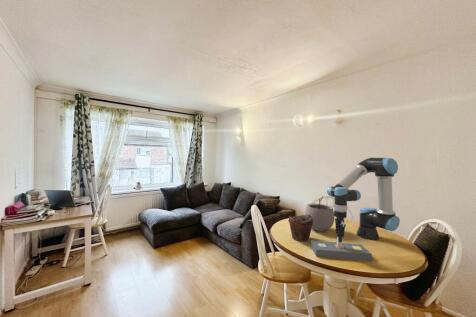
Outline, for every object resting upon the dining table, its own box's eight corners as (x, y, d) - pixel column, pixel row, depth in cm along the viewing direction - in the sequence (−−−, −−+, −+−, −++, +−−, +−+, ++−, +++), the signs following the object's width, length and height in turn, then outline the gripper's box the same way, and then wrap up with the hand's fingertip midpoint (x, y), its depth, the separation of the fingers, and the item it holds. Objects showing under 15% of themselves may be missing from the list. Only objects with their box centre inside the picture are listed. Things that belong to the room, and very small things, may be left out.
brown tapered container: (283, 238, 158) (283, 215, 157) (296, 231, 172) (296, 210, 171) (304, 245, 145) (305, 220, 145) (316, 238, 159) (317, 215, 159)
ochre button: (359, 251, 135) (359, 246, 135) (362, 255, 130) (362, 249, 130) (351, 251, 136) (351, 245, 136) (354, 254, 131) (354, 249, 131)
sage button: (324, 248, 138) (324, 243, 138) (326, 252, 133) (326, 246, 133) (317, 248, 139) (317, 243, 139) (319, 251, 134) (319, 246, 134)
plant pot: (304, 232, 171) (305, 197, 170) (304, 223, 193) (305, 192, 193) (335, 236, 163) (336, 199, 163) (332, 227, 186) (333, 194, 186)
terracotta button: (341, 250, 136) (341, 245, 136) (344, 253, 132) (344, 248, 132) (334, 249, 137) (334, 244, 137) (336, 253, 132) (336, 247, 132)
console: (360, 250, 139) (361, 244, 139) (371, 261, 125) (371, 253, 125) (311, 246, 144) (311, 240, 144) (315, 256, 130) (316, 249, 130)
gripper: (331, 208, 141) (330, 241, 141) (337, 213, 128) (336, 250, 128) (342, 208, 140) (341, 242, 140) (350, 213, 127) (349, 251, 127)
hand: (339, 246), depth 134 cm, fingers closed
